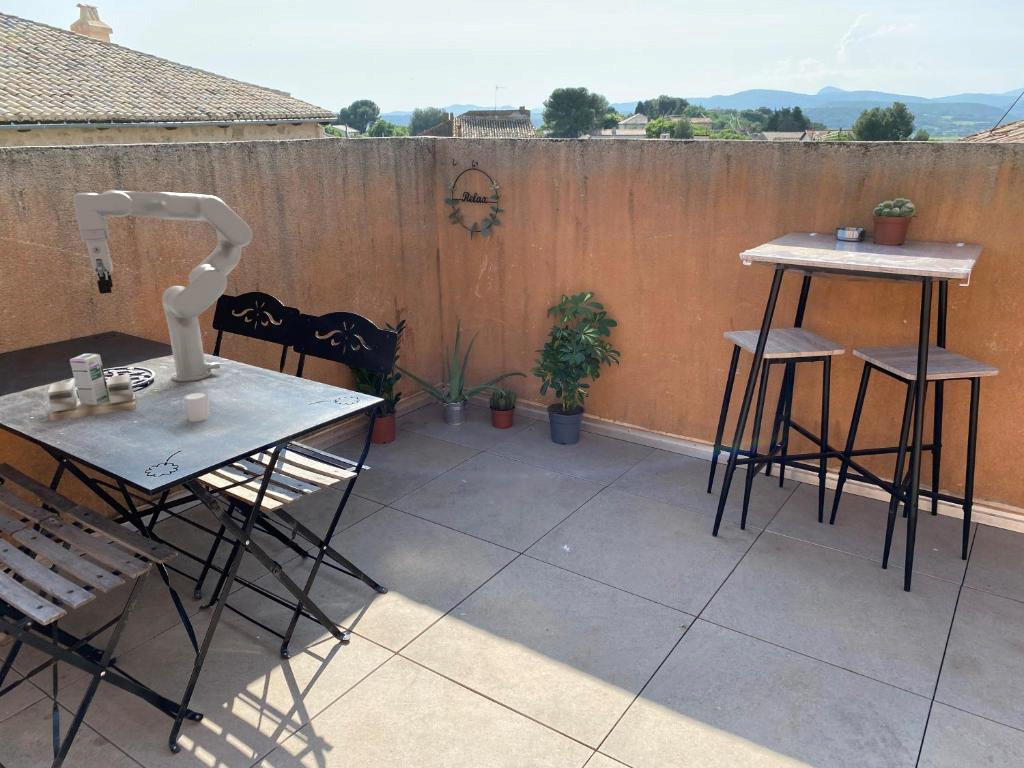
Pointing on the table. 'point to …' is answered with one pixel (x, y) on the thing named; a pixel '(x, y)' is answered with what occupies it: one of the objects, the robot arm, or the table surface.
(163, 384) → the table surface
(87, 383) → the syrup box
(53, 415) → the rail board
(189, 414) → the shot glass
